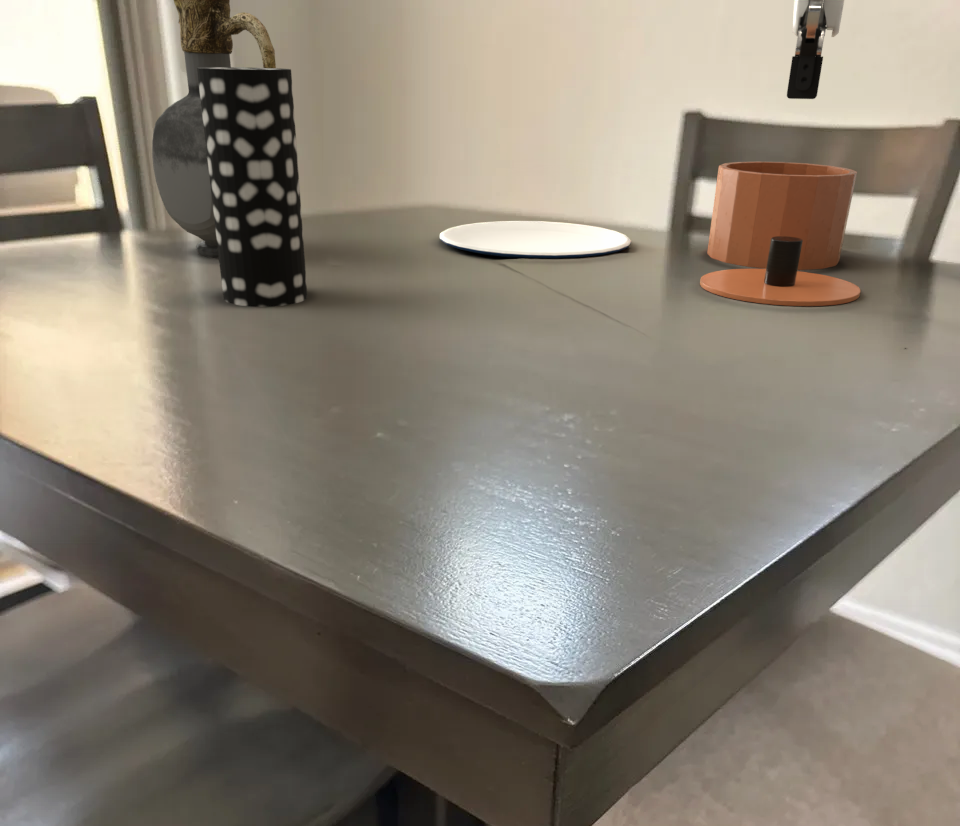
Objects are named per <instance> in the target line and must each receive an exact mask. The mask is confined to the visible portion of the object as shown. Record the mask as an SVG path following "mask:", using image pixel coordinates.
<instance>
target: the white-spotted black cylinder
mask: <svg viewBox="0 0 960 826" xmlns="http://www.w3.org/2000/svg"><path fill="white" fill-rule="evenodd" d="M197 73H198V82H199V90H200V99H201V108H202V116H203V125H204V133H205V142H206V151H207V159H208V168H209V177H210V185H211V194H212V203H213V211H214V220H215V229H216V237H217V246H218V255H219V258H218V262H219V263H218V264H219V272H220V279H221V281H220V282H221V288H222V289H221V290H222V297H223V301H225V302H226V303H229V304H231V305H236V306H241V307H255V308H267V307H282V306H290V305H294V304H299V303H302V302H305V300H307V299H308V286H307V285H308V284H307V271H306V259H305V257H306V256H305V245H304V243H305V242H304V230H303V216H302V201H301V189H300V188H301V186H300V174H299V161H298V145H297V133H296V119H295V118H296V117H295V104H294V91H293V77H292V69H291V68H280V67H279V68H278V67H276V68H263V67H244V66H243V67H240V66H239V67H237V66H231V67H199V68H197Z"/></svg>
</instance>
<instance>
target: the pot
mask: <svg viewBox="0 0 960 826" xmlns="http://www.w3.org/2000/svg"><path fill="white" fill-rule="evenodd" d="M857 175H858V171H856V170H854V169H851V168H848V167H841V166H835V165H826V164H817V163H805V162H804V163H803V162H790V161H789V162H788V161H734V162H725V163H722V164H720V165H718V170H717V177H716V186H715V191H714V199H713V207H712V213H711V214H712V215H711V222H710V228H709V229H710V230H709V238H708V246H707V251H706V252H707V253H706V254H707V255H708V256H709V257H710V258H711V259H712V260H716V261H720V262H722V263H726V264H730V265H737V266H741V267H747V268H755V269H766V267H767V261H768V255H769V249H770V243H771V238H772V237H777V236H787V237H796V238H800V239H802V240H803V242H802V248H801V253H800V259H799V264H798V270H797V271H807V270H809V271H810V270H823V269H827V268H828V269H829V268H832V267H836V266H837V265H838V264H839V262H840V259H841V253H842V250H843V244H844V239H845V236H846V235H845V234H846V231H847V224H848V220H849V214H850V209H851V204H852V200H853V196H854V195H853V194H854V189H855V185H856V181H857Z"/></svg>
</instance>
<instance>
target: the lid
mask: <svg viewBox="0 0 960 826" xmlns="http://www.w3.org/2000/svg"><path fill="white" fill-rule="evenodd" d="M802 242H803V240H802V239H800V238H796V237H787V236H777V237H772V238H771V243H770V249H769V255H768V261H767V267H766V268H733V269H730V268H729V269H722V270H715V271H711V272H708V273H706V274H704V275H702V276H701V277H700V280H699V285H700V287H701V288H702V289H703V290H705V291H707V292H709V293H711V294H714V295H717V296H719V297H720V296H721V297H723V298H728V299H731V300H737V301H743V302H748V303H756V304H763V305H772V306H786V307H787V306H790V307H824V306H827V307H828V306H836V305H837V306H838V305H842V304H843V305H844V304H848V303H851V302H854V301H856V300H858V299H859V297H860V296H861V288H860V287H859V286H858V285H857V284H855V283H853V282H850V281H848V280H845V279H841V278H838V277H834V276H831V275H827V274H819V273H813V272H807V271H802V270H798V264H799V259H800V253H801V248H802Z"/></svg>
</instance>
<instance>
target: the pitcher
mask: <svg viewBox="0 0 960 826" xmlns="http://www.w3.org/2000/svg"><path fill="white" fill-rule="evenodd" d="M230 1H231V0H173V4H174V6H175V9H176V11H177V14H178V24H179V37H180V38H179V39H180V46H181V51H182V52H183V53H184V54H183V55H184V63H185V70H186V79H187V87H188V94H186V95H185V96H183V97H182V98H180V99H179V100H176V101H175V102H173V103H172V104H171V105H169V106H168V107H167V108H166V109H165V110H164V111H163V112H162V113H161V114H160V116H159V117H158V118H157V119H156V121H155V124H154V127H153V128H154V129H153V132H152V142H151V145H152V147H151V148H152V149H151V156H152V168H153V173H154V174H153V175H154V178H155V179H154V180H155V183H156V187H157V190H158V193H159V197H160V199H161V201H162V204H163V206H164V208H165V211H167V214H168V215H169V217H170V218H171V219H172V220H173V221H174V222H175V223H176V224H177V225H178V226H179V227H180V228H182V229H183V230H184V231H185V232H186V233H189V234H191V235H193V236H196V237H197V238H199V239H201V240H202V241H200V242H198V243H197V244H196V245H195V250H196V252H197V254H198V255H200V256H203V257H208V258H216V259H219V255H218V246H217V237H216V229H215V220H214V211H213V203H212V194H211V185H210V177H209V168H208V159H207V151H206V142H205V133H204V125H203V116H202V108H201V99H200V90H199V82H198V73H197V68H199V67H232V64H231V54H233V49H234V43H233V42H234V41H233V37H232V36H236V35H239V34H240V33H242V32H243V31H246V32H248V33H250V34H251V35H252V36H253V38H254V39H255V41H256V43H257V45H258V48H259V52H260V55H261V61H262V68H277V64H276V53H275V52H276V51H275V48H274V46H273V43H272V40H271V38H270V34H269V32H268V30H267V28H266V26H265V25H264V24H263V23H262V21H260V19H259V18H258V17H257V16H255V15H253V14H251V13H249V12H238V13H236V14H234V15H233V16H231V4H230V3H231V2H230Z"/></svg>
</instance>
